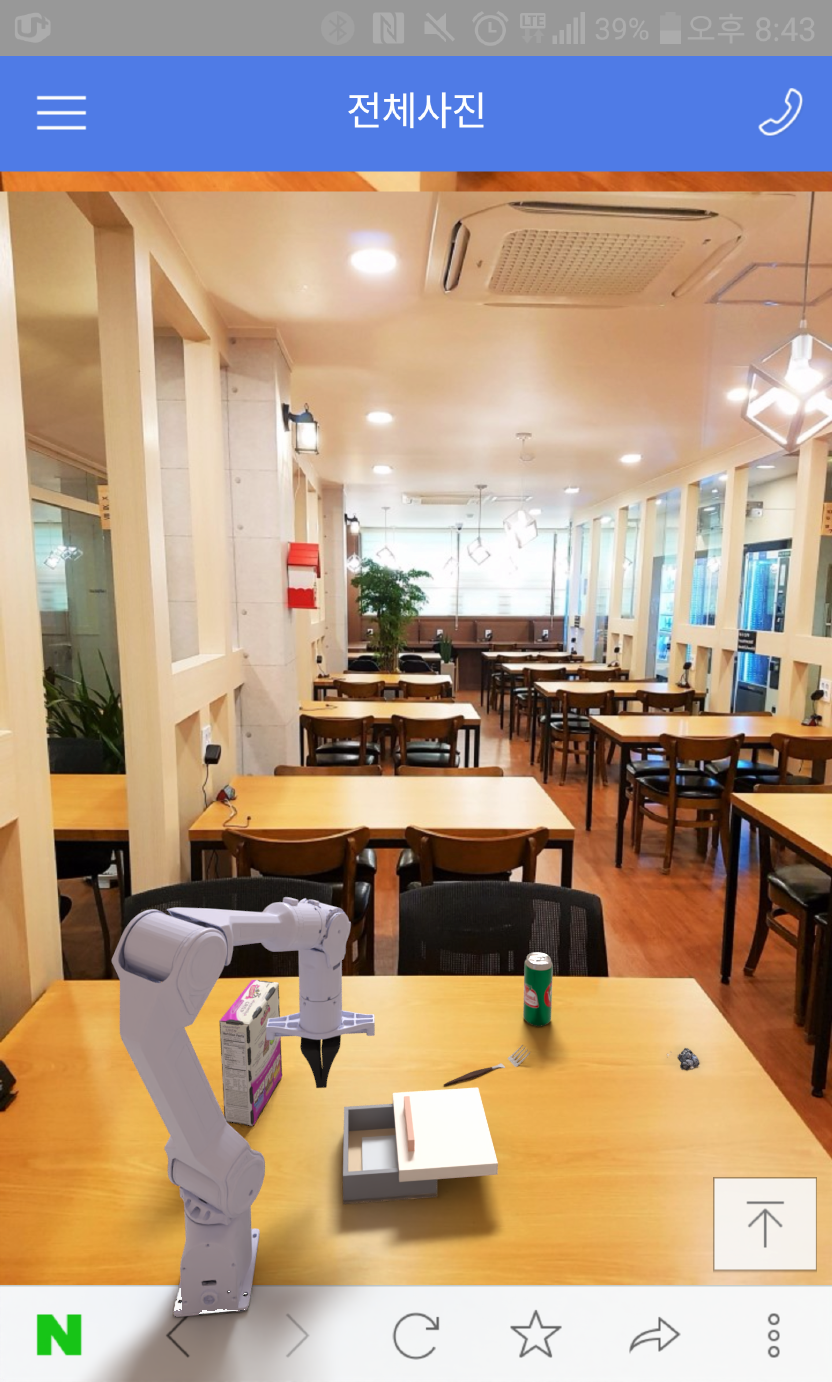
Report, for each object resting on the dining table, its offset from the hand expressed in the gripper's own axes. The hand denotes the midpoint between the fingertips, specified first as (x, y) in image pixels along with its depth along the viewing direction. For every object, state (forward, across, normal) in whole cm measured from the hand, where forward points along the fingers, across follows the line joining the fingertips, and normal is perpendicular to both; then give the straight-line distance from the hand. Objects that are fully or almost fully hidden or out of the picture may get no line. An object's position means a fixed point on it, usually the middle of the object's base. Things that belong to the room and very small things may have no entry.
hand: (321, 1083), depth 94 cm
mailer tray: (+10, -9, +3) cm, 14 cm away
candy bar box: (+11, +11, -11) cm, 19 cm away
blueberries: (+11, -60, -16) cm, 63 cm away
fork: (+11, -26, -15) cm, 32 cm away
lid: (+7, -16, +3) cm, 18 cm away
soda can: (+10, -38, -28) cm, 48 cm away
